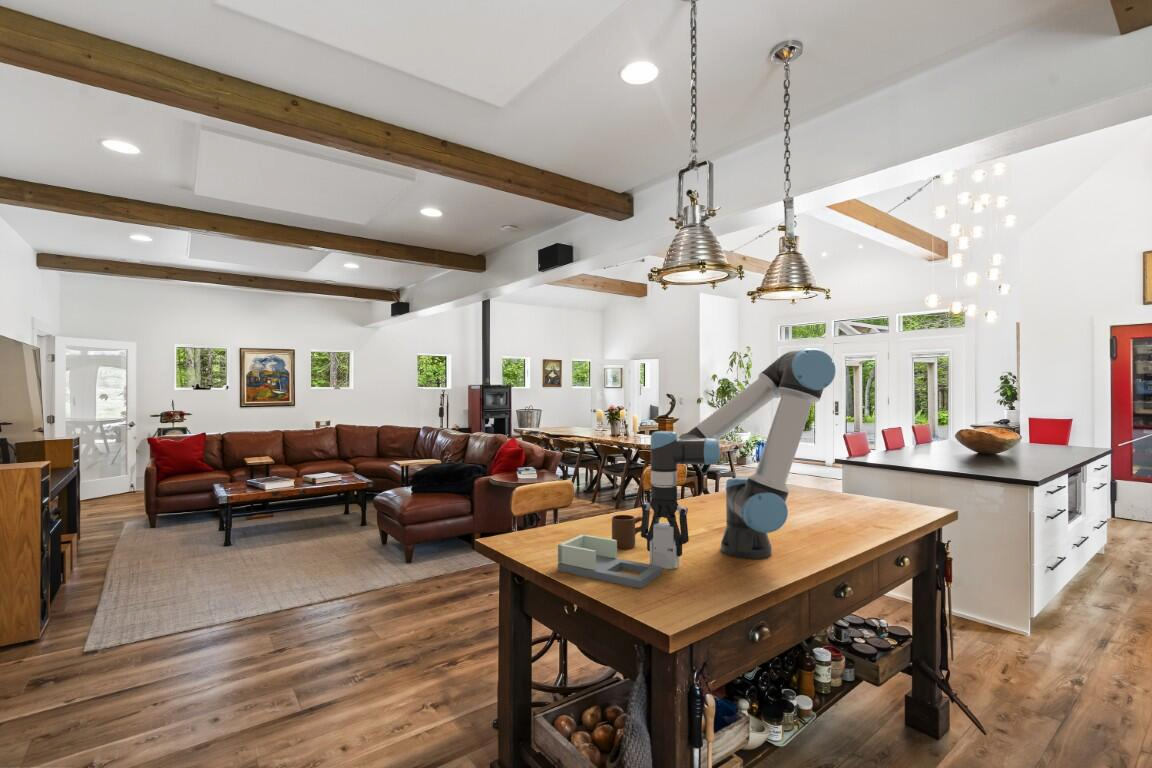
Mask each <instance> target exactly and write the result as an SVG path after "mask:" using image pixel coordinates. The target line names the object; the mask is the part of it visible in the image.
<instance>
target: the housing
mask: <svg viewBox="0 0 1152 768" xmlns="http://www.w3.org/2000/svg"><path fill="white" fill-rule="evenodd" d="M596 555H600V556H606V557H611V558H618V548H617V540H613V539H612V538H606V537H601V536H600V537H599V536H595V535H588V534H582V533H581V534H579V535H577V536H575V537H573V538H570V539H568V540H566V541H564V542H561V543H559V544H557V564H558V563H563V564H568V565H573V566H578V567H582V568H587V569H592V570H595V569H596Z"/></svg>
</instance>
